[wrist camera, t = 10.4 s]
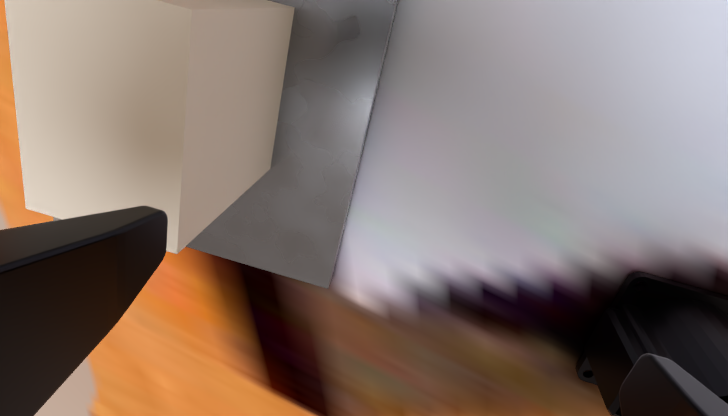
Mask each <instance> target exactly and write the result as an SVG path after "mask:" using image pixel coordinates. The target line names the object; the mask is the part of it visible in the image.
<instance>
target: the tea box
mask: <svg viewBox="0 0 728 416" xmlns="http://www.w3.org/2000/svg"><path fill="white" fill-rule="evenodd" d="M5 9H6V19H7V29H8V38H9V48H10V58H11V68H12V77H13V87H14V97H15V107H16V116H17V126H18V136H19V146H20V156H21V165H22V175H23V185H24V195H25V204H26V209H29V210H33V211H36V212H39V213H43V214H46V215H49V216H52V217H56V218H59V219H68V218H74V217H80V216H85V215H91V214H97V213H103V212H109V211H114V210H120V209H126V208H132V207H138V206H150V207H153V208H156V209H160V210H163V211H164V212H165V213H166V214H167V217H168V227H167V248H166V251H168V252H172V253H175V254H178V253H179V252H180V251H181V250H182V249H183V248H184V247H185V246H186V245H187V244H188V243H190V242H191V241H192V240H193V239H194V238H195V237H196V236H197V235H198V234H199V233H201V232H202V231H203V230H204V229H205V228H206V227H207V226H208V225H209V224H210V223H212V222H213V221H214V220H215V219H216V218H217V217H218V216H219V215H220V214H221V213H222V212H224V211H225V210H226V209H227V208H228V207H229V206H230V205H231V204H232V203H233V202H235V201H236V200H237V199H238V198H239V197H240V196H241V195H242V194H243V193H244V192H245V191H247V190H248V189H249V188H250V187H251V186H252V185H253V184H254V183H255V182H256V181H258V180H259V179H260V178H261V177H262V176H263V175H264V174H265V173H266V172H267V171H268V170H270V167H271V160H272V153H273V147H274V140H275V134H276V127H277V121H278V114H279V107H280V101H281V94H282V88H283V81H284V74H285V68H286V61H287V55H288V48H289V42H290V35H291V28H292V22H293V15H294V9H295V7H291V6H287V5H283V4H280V3H276V2H272V1H268V0H5Z"/></svg>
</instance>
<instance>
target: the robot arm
mask: <svg viewBox="0 0 728 416" xmlns="http://www.w3.org/2000/svg"><path fill="white" fill-rule="evenodd" d="M167 227H168V217H167V214H166V213H165V212H164V211H163V210H160V209H156V208H153V207H150V206H138V207H132V208H126V209H120V210H114V211H109V212H103V213H97V214H91V215H85V216H80V217H74V218H68V219H62V220H56V221H50V222H45V223H39V224H33V225H27V226H21V227H16V228H10V229H4V230H0V416H34V415H35V414H36V413H37V412H38V410H39V409H40V408H41V407H42V406H43V405H44V404H45V403H46V401H47V400H48V399H49V398H50V397H51V396H52V395H53V394H54V393H55V391H56V390H57V389H58V388H59V387H60V386H61V385H62V384H63V383H64V381H65V380H66V379H67V378H68V377H69V376H70V375H71V374H72V373H73V371H74V370H75V369H76V368H77V367H78V366H79V365H80V364H81V363H82V362H83V360H84V359H85V358H86V357H87V356H88V355H89V354H90V353H91V352H92V350H93V349H94V348H95V347H96V346H97V345H98V344H99V343H100V342H101V340H102V339H103V338H104V337H105V336H106V335H107V334H108V333H109V331H110V330H111V329H112V328H113V327H114V326H115V324H116V323H117V322H118V321H119V320H120V318H121V317H122V316H123V314H124V313H125V312H126V310H127V309H128V308H129V306H130V305H131V303H132V302H133V301H134V299H135V298H136V296H137V295H138V294H139V292H140V291H141V290H142V288H143V287H144V285H145V284H146V283H147V281H148V280H149V278H150V277H151V276H152V274H153V273H154V271H155V270H156V269H157V267H158V266H159V264H160V263H161V262H162V260H163V258H164V256H165V253H166V248H167ZM640 281H644V282H643V284H642V285H640V286H635V284H636V283H637V282H640ZM584 351H585V352H584V353H583V355H582V357H581V358H580V360H579V362H578V364H577V365H576V371H577V374H578V377H579V378H580V379H581V380H583V381H586V382H589V383H592V384H596V385H598V387H599V390H600V392H601V395H602V398H603V400H604V403H605V405H606V408H607V410H608V412H609V413H610V415H611V416H728V296H724V295H721V294H717V293H714V292H710V291H707V290H703V289H700V288H696V287H692V286H689V285H685V284H682V283H678V282H675V281H671V280H668V279H664V278H661V277H657V276H654V275H650V274H646V273H643V272H636V273H633V274H631V275H629V276H628V277H627V279H626V280H625V282H624V284H623V286H622V287H621V289H620V291H619V293H618V294H617V296H616V298H615V300H614V301H613V303H612V305H611V306H610V308H608V309H607V310H605V311H604V313H603V315H602V316H601V318H600V320H599V322H598V323H597V325H596V327H595V329H594V330H593V332H592V334H591V336H590V337H589V339H588V341H587V343H586V344H585V346H584ZM586 370H590V371H589V372H584V371H586Z"/></svg>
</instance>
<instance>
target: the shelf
mask: <svg viewBox="0 0 728 416" xmlns="http://www.w3.org/2000/svg"><path fill="white" fill-rule="evenodd" d="M268 1H272V2H276V3H280V4H283V5H287V6H291V7H295V9H294V15H293V22H292V28H291V35H290V42H289V48H288V55H287V61H286V68H285V74H284V81H283V88H282V94H281V101H280V107H279V114H278V121H277V127H276V134H275V140H274V147H273V153H272V160H271V167H270V170H268V171H267V172H266V173H265V174H264V175H263V176H262V177H261V178H260V179H259V180H258V181H256V182H255V183H254V184H253V185H252V186H251V187H250V188H249V189H248V190H247V191H245V192H244V193H243V194H242V195H241V196H240V197H239V198H238V199H237V200H236V201H235V202H233V203H232V204H231V205H230V206H229V207H228V208H227V209H226V210H225V211H224V212H222V213H221V214H220V215H219V216H218V217H217V218H216V219H215V220H214V221H213V222H212V223H210V224H209V225H208V226H207V227H206V228H205V229H204V230H203V231H202V232H201V233H199V234H198V235H197V236H196V237H195V238H194V239H193V240H192V241H191V242H190V243H188V244H187V245H186V247H189V248H193V249H196V250H199V251H203V252H206V253H209V254H213V255H216V256H219V257H223V258H226V259H230V260H233V261H236V262H240V263H243V264H246V265H250V266H253V267H256V268H260V269H263V270H267V271H270V272H273V273H277V274H280V275H283V276H287V277H290V278H294V279H297V280H300V281H304V282H307V283H310V284H314V285H317V286H320V287H324V288H327V289H328V288H329V285H330V283H331V281H332V277H333V273H334V269H335V265H336V260H337V256H338V252H339V248H340V243H341V239H342V235H343V231H344V227H345V222H346V218H347V214H348V210H349V206H350V201H351V197H352V193H353V189H354V185H355V180H356V176H357V172H358V168H359V164H360V159H361V155H362V151H363V147H364V143H365V138H366V134H367V130H368V126H369V122H370V117H371V113H372V109H373V105H374V101H375V96H376V92H377V88H378V84H379V80H380V75H381V71H382V67H383V63H384V59H385V54H386V50H387V46H388V42H389V38H390V33H391V29H392V25H393V21H394V17H395V12H396V8H397V4H398V0H268ZM53 218H54V221H56V220H62V219H59V218H56V217H53Z"/></svg>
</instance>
